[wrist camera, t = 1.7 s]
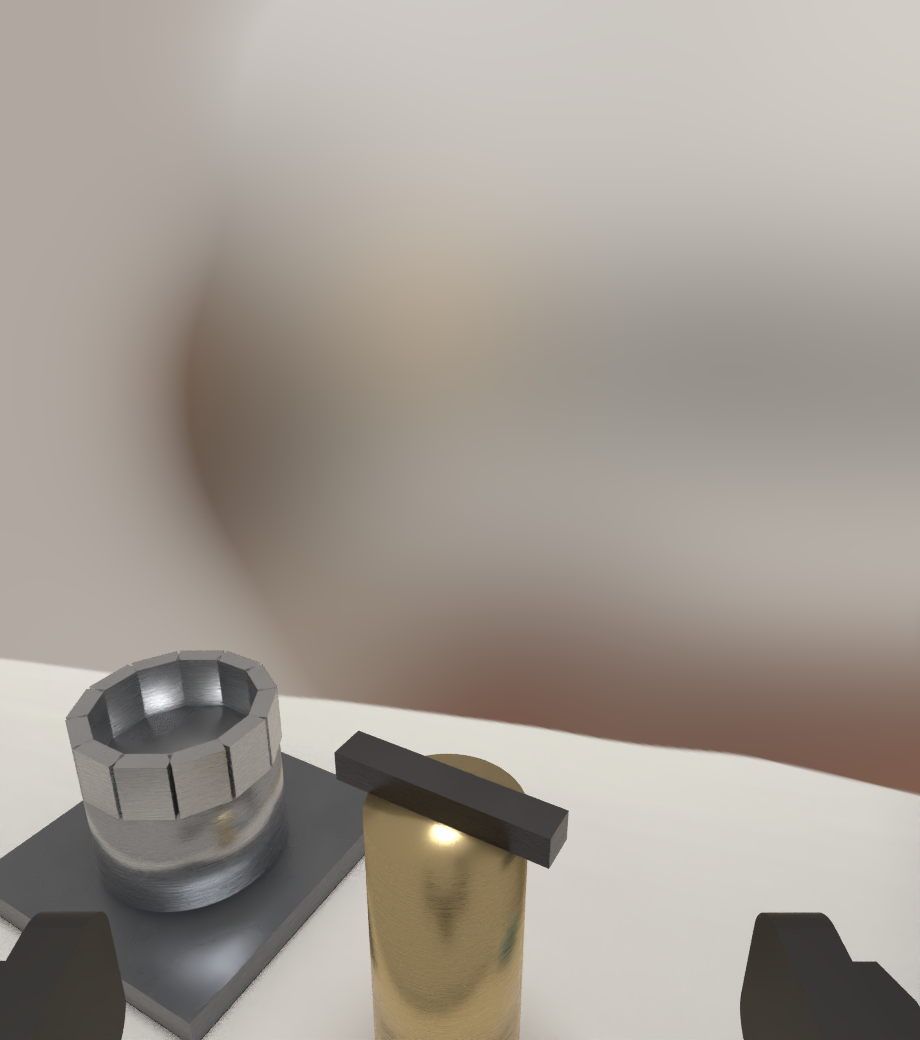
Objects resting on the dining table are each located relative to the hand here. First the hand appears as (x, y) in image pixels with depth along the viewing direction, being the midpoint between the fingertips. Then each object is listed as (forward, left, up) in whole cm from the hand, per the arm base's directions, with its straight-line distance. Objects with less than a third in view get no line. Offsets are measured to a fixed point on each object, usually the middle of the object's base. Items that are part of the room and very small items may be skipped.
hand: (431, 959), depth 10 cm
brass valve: (-10, -6, -20) cm, 23 cm away
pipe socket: (-13, -21, -20) cm, 31 cm away
